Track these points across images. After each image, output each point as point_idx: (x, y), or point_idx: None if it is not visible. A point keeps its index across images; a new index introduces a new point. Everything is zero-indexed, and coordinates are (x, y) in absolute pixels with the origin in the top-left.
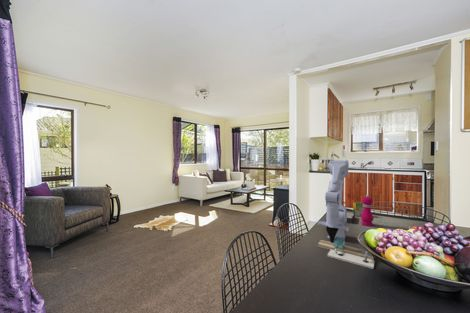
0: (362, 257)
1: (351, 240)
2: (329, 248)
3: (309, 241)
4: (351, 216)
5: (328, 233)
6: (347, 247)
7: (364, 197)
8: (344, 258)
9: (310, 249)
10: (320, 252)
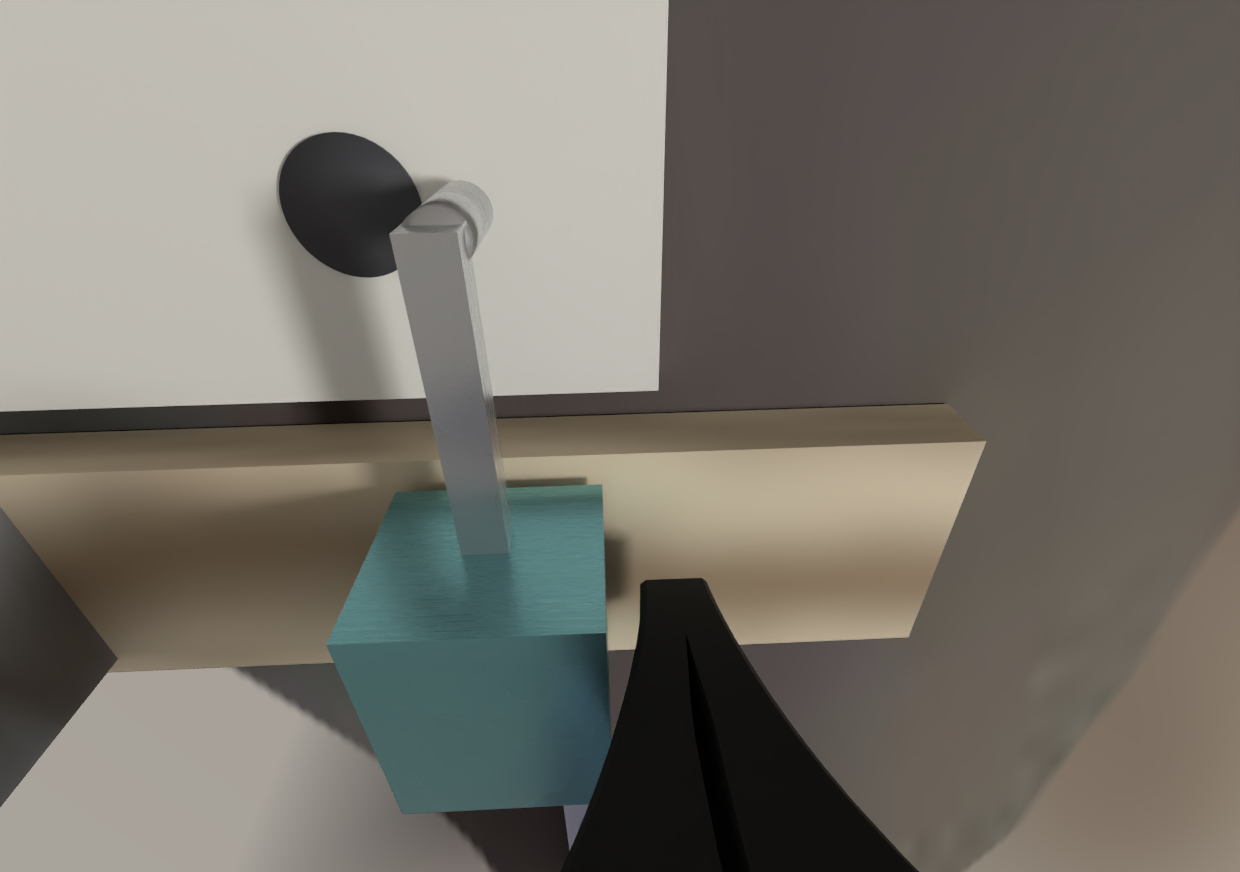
0: None
1: (482, 830)
2: (694, 425)
3: (1101, 527)
4: None
5: (843, 814)
6: None
7: None
8: (152, 12)
9: (1150, 131)
10: (877, 113)
